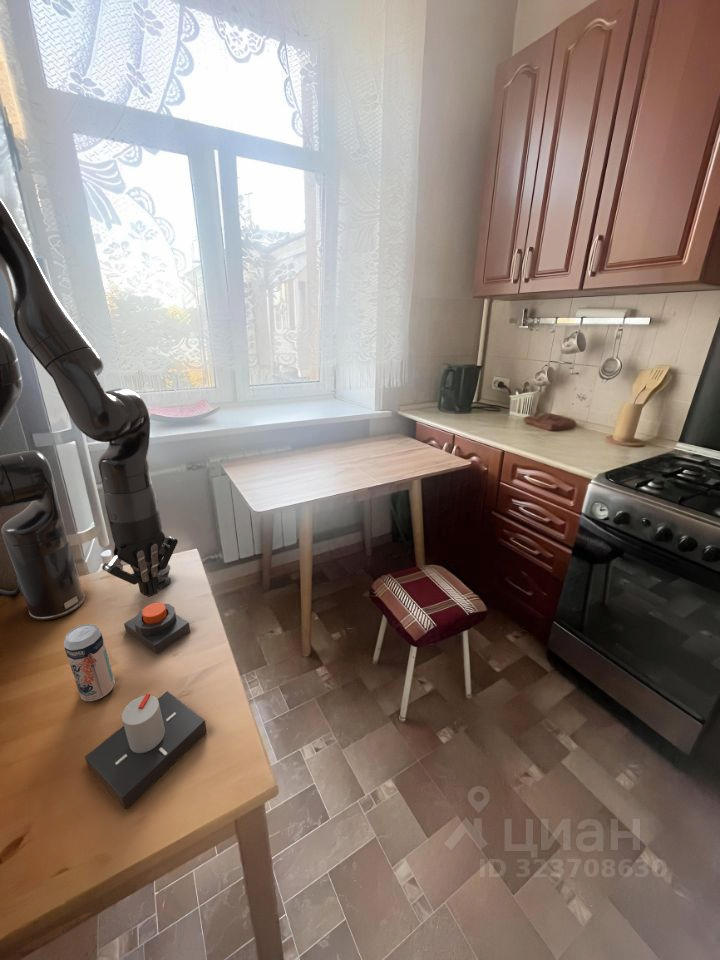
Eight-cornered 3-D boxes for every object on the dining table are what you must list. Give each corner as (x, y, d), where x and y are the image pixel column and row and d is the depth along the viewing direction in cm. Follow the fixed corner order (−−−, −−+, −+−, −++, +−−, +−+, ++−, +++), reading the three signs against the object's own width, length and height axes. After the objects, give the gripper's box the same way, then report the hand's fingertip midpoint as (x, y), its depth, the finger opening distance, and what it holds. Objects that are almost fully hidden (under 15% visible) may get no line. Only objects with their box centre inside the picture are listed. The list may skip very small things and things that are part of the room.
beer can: (73, 696, 63) (54, 638, 58) (102, 674, 67) (85, 618, 62) (94, 707, 61) (76, 648, 57) (122, 683, 65) (107, 627, 61)
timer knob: (155, 753, 52) (148, 723, 50) (122, 753, 52) (114, 723, 50) (170, 722, 57) (164, 693, 54) (139, 722, 56) (132, 692, 54)
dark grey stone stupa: (161, 593, 87) (152, 546, 82) (138, 589, 88) (128, 542, 83) (178, 577, 92) (170, 532, 88) (155, 573, 93) (147, 529, 89)
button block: (125, 632, 76) (121, 615, 74) (159, 611, 81) (156, 596, 80) (156, 654, 71) (153, 637, 70) (190, 631, 77) (187, 615, 75)
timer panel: (88, 768, 53) (84, 755, 52) (169, 702, 62) (167, 689, 61) (125, 810, 49) (121, 797, 48) (207, 732, 58) (205, 719, 57)
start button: (139, 618, 74) (137, 611, 74) (158, 607, 77) (157, 599, 77) (151, 627, 72) (150, 619, 72) (171, 614, 75) (169, 607, 75)
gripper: (156, 492, 73) (170, 570, 80) (79, 519, 63) (102, 606, 69) (182, 502, 70) (194, 583, 76) (104, 532, 59) (126, 623, 66)
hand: (150, 594), depth 73 cm, fingers closed
